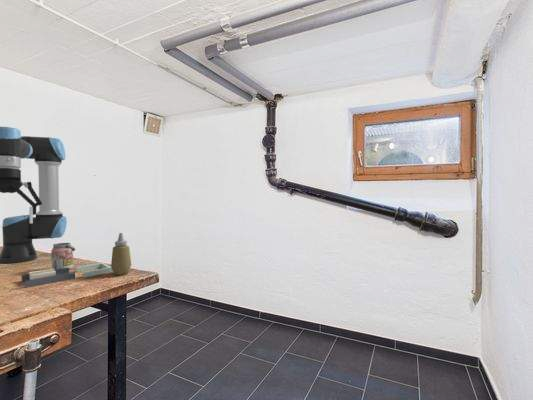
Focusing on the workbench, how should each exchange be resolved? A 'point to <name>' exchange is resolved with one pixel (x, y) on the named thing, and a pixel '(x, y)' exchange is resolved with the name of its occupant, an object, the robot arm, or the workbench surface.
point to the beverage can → (62, 256)
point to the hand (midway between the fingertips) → (8, 224)
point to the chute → (48, 278)
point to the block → (41, 274)
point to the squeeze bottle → (121, 257)
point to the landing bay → (94, 272)
